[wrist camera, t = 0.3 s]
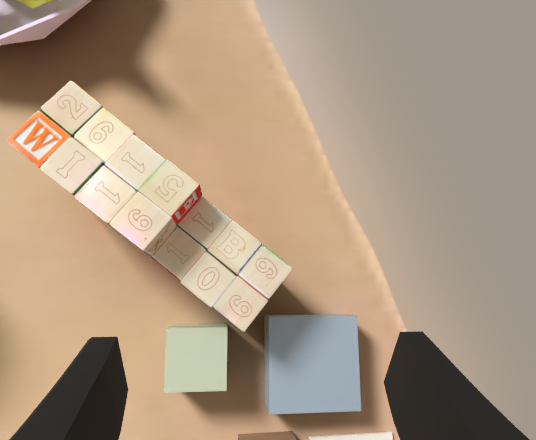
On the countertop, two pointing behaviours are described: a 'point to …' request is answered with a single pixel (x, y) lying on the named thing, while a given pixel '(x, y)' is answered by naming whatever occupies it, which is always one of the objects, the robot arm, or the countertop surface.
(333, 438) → the white flat square frame
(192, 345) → the sage cube
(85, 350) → the robot arm
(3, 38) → the fruit bowl
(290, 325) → the base block
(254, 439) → the walnut cube
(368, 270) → the countertop surface
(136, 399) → the countertop surface
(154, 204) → the stack of blocks
